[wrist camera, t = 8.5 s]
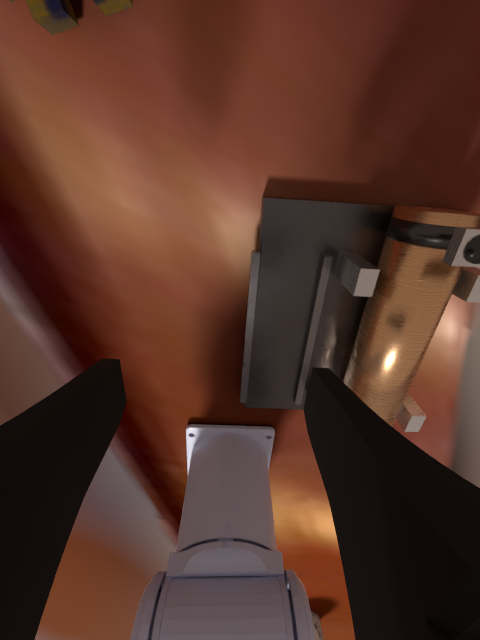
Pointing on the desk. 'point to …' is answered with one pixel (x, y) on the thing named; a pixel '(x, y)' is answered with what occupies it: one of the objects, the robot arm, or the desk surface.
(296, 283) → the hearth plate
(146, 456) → the desk surface
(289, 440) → the desk surface
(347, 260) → the small blocks
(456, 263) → the aperture bracket
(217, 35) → the desk surface
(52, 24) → the pipe connector
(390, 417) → the tube
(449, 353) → the desk surface
